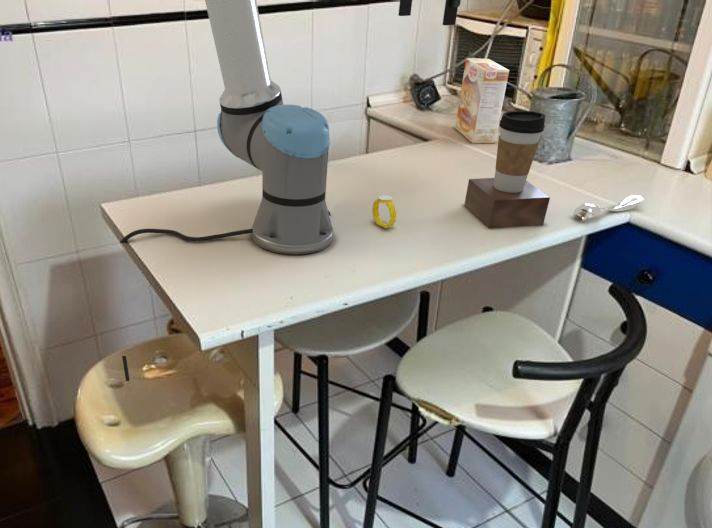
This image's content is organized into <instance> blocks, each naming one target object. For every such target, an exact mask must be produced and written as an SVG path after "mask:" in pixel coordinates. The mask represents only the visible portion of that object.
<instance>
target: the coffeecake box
mask: <svg viewBox="0 0 712 528" xmlns="http://www.w3.org/2000/svg"><path fill="white" fill-rule="evenodd" d="M509 74H510V69H508V68H507V67H504V66H502V65H501V64H499V63H497V62H495V61H494V60H492V59H490V58H477V57H476V58H475V57H467V58H465V62H464V69H463V76H462V81H461V89H460V93H459V94H460V95H459V102H458V107H457V114H456V119H455V126H454V128H455V129H456V131H458V132H459V133H460V134H461V135H462V136H464V137H465V138H466V139H467V140H468V141H469V142H470V143H471V144H496V143H497V136H498V131H499V127H500V126H499V124H500V120H501V117H502V116H501V115H502V110H503V104H504V100H505V94H506V89H507V85H508V80H509V79H508V78H509Z"/></svg>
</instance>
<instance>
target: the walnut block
mask: <svg viewBox="0 0 712 528" xmlns="http://www.w3.org/2000/svg"><path fill="white" fill-rule="evenodd" d="M494 178H495V177H482V178H469V179H468V182H467V188H466V193H465V199H464V204H463V206H464V207H465V208H466V209H467V210H468V211H469V212H471V213H472V214H473V215H474V216H475V217H476V218H477V219H478V220H479V221H481V222H482V223H483V225H485V226H486V227H487V228H488V229H497V228H498V229H500V228H516V227H533V226H544V224H545V220H546V216H547V212H548V208H549V204H550V200H551V197H550V196H549V195H548V194H546V193H544V192H543V191H542V190H540V189H539V188H537V187H536V186H535V185H533V184H532V183H530V182H529V181H528V180H526V182H525V186H524V189H523V191H521V192H518V193H508V192H503V191H500V190H497V189H496V188H495V187H494Z"/></svg>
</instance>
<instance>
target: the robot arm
mask: <svg viewBox="0 0 712 528" xmlns="http://www.w3.org/2000/svg"><path fill="white" fill-rule="evenodd" d="M204 1H205V6H206V10H207V16H208V19H209V24H210V28H211V33H212V37H213V41H214V47H215V50H216V55H217V60H218V64H219V68H220V72H221V78H222V82H223V85H224V90H223V92H222V93H221V94H220V96H219V99H218V100H219V101H218V102H219V105H220V111H219V114H218V115H217V119H216V129H217V134H218V137H219V139H220V142H221V143H222V144H223V146H224V147H225V148H226V149H227V150H228V151H229V152H230V153H231V154H232V155H233V156H235V157H236V158H237V159H240V160H241V161H243V162H245V163H247V164H249V165H250V166H252V167H254V168H255V169H257V170H258V171H260V172H262V174H261V175H262V177H261V178H262V186H261V187H262V193H261V194H262V195H261V196H262V197H261V200H260V203H259V207H258V209H257V212H256V215H255V218H254V220H253V224H252V228H248V229H241V230H234V231H229V232H223V233H219V234H218V233H216V234H211V235H206V236H188V235H186V234H183V233H181V232H179V231H178V230H177V231H176V230H173V229H164V228H163V229H162V228H140V229H137V230H133V231H131V232H129V233H127V234H126V235H125V236H124V237H123V238H122V239H121V240H120V241H119V243H120V244H125V243H126V242H127V241H128V240H130V239H131V238H133V237H135V236H137V235H142V234H164V235H165V234H167V235H173V236H176V237H178V238H180V239H181V240H184V241H187V242H206V241H207V242H208V241H211V240H218V239H219V240H220V239H225V238H229V237H236V236H240V235H246V234H247V235H248V234H252V235H251V237H252V241H253V242H254V243H255V245H257V246H259V247H261V248H262V249H264V250H266V251H269V252H273V253H276V254H282V255H307V254H312V253H317V252H320V251H322V250H325V249H326V248H328V247H329V246H331V244H332V242H333V240H334V239H333V238H334V227H333V223H332V220H331V217H332V214H331V212H330V211H329V210H328V206H327V201H326V195H327V194H326V193H327V179H328V165H329V163H328V162H329V150H330V144H331V140H330V139H331V138H330V125H329V122H328V120H327V118H326V117H325V116H324V115H323V114H322V113H320V111H317V110H315V109H313V108H310V107H308V106H305V107H302V106H301V105H299V104H298V105H297V104H284V100H283V95H282V89H281V86H280V85H279V84H278V83H276V82H274V81H273V80H272V79H271V75H270V69H269V64H268V57H267V51H266V47H265V41H264V36H263V35H264V34H263V31H262V25H261V20H260V18H261V17H260V13H259V8H258V7H259V6H258V1H257V0H204ZM444 3H445V4H444V10H443V16H442V17H443V18H442V26H455V25H456V22H457V15H458V9H459V7H461V3H462V0H445V2H444ZM412 5H413V0H399V4H398V16H399V17H408V16H411V15H412V7H413V6H412ZM121 359H122V365H123V371H124V372H123V373H124V377H125V378H124V379H125V382H126V381H129V380H130V373H129V367H128V361H127V355H122V356H121Z"/></svg>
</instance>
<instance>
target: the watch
mask: <svg viewBox="0 0 712 528" xmlns="http://www.w3.org/2000/svg"><path fill="white" fill-rule="evenodd" d="M381 203H382V204H386V206H387V209H388V212H389V220H388V223H385V222H383V221H382V219H381V217H380V213H379V207H380V204H381ZM371 214H372V218H373V220H374V223H375V224H376V225H378V226H380V227H382V228H384V229H389V228H392V227H393V226H394V225H395V222H396V220H397V209H396V206H395V204H394V203H393V197H392V196H390V195H386V194H385V195H384V194H382V195H378V196H377V199H375V201H373V204H372V208H371Z"/></svg>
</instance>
